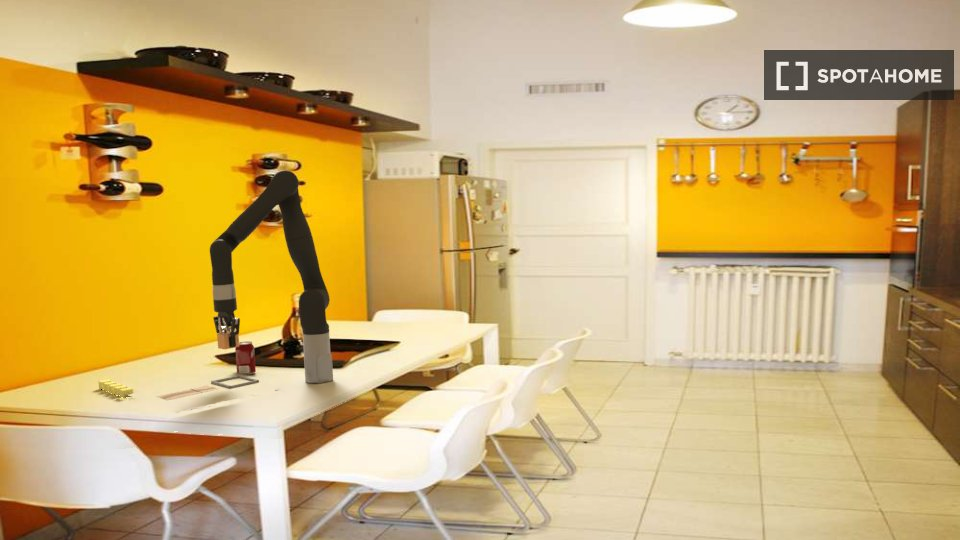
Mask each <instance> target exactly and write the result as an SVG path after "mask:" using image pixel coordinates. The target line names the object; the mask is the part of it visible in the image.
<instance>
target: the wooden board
mask: <svg viewBox="0 0 960 540" xmlns="http://www.w3.org/2000/svg"><path fill="white" fill-rule="evenodd" d="M215 390H219V388H218V387H216V386H215V387H214V386H211V385H203V386H199V387H194V388H190V389H185V390H181V391H175V392H171V393H167V394H162V395H161V394H160V395H156V398H160V399H163V400H165V401H170V400H176V399H179V398H184V397H188V396H193V395H198V394H203V393H206V392H211V391H215Z"/></svg>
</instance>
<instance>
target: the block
mask: <svg viewBox="0 0 960 540" xmlns="http://www.w3.org/2000/svg"><path fill="white" fill-rule="evenodd" d="M216 338H217V339H216V340H217V341H216V342H217V349H221V350H228V349H234V348H236V347H239V342H240V337H239V334H237V335H236V336H235V339H236V346H235V347H229V336H228V332H225V333H220V334H219V333H216Z"/></svg>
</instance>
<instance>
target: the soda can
mask: <svg viewBox="0 0 960 540" xmlns="http://www.w3.org/2000/svg"><path fill="white" fill-rule="evenodd" d="M255 355H256V354H255V346H254V344H253V342H252V341H248V340H247V341H239V347H235V363H236V373H237V374H239V375H243V376H252V375H254V374H255V373H256V372H257V371H256V357H255Z"/></svg>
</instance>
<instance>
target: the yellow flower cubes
mask: <svg viewBox="0 0 960 540" xmlns="http://www.w3.org/2000/svg"><path fill="white" fill-rule="evenodd" d="M100 389H102V390H103V389H104V390H105V391H107V392H108V391H109V392H110V393H112V394H115V395H118V396H119V395H120V397H123V398H126V397H132V396H131V395H129V394H134V388H132V387H128V386H127V385H123V384H121V383H118V382H115V381H112V380H111V379H103V380H98V390H100ZM102 390H101V391H102ZM104 390H103V391H104ZM105 391H104V392H105ZM107 392H106V393H107ZM109 392H108V393H109ZM110 393H109V394H110ZM112 394H111V395H112ZM115 395H114V396H115ZM120 397H119V398H120Z"/></svg>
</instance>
